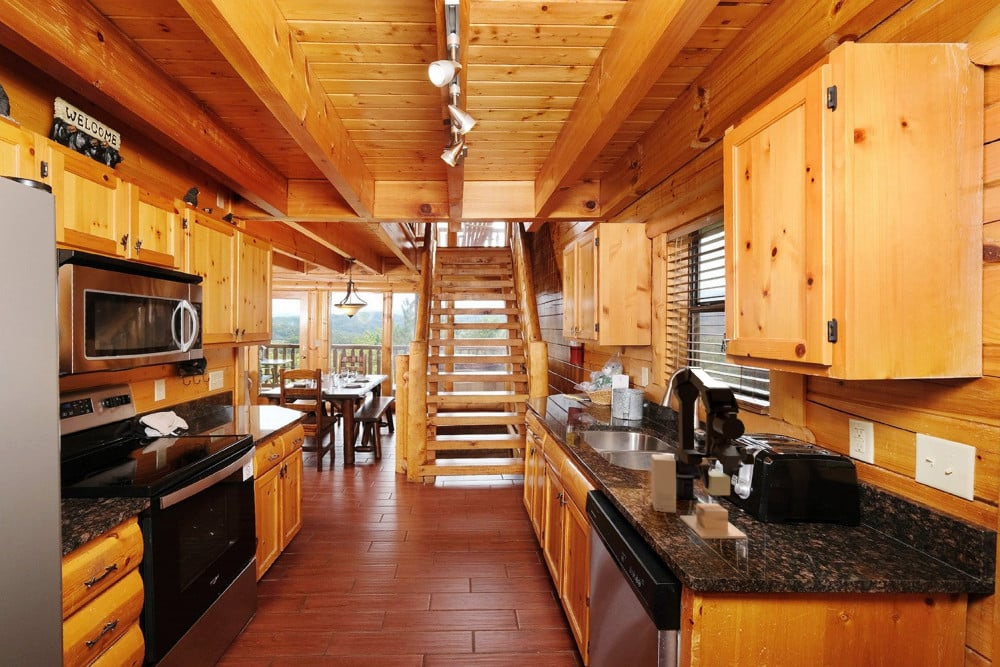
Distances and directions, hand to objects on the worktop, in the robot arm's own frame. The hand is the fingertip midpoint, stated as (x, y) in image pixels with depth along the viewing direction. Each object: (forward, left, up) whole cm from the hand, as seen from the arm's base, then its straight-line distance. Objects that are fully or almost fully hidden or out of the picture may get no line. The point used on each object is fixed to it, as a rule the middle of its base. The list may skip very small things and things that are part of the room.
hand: (716, 488), depth 132 cm
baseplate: (0, -1, -11) cm, 11 cm away
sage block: (0, 0, -1) cm, 1 cm away
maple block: (0, -1, -10) cm, 10 cm away
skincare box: (-15, -9, -11) cm, 21 cm away
